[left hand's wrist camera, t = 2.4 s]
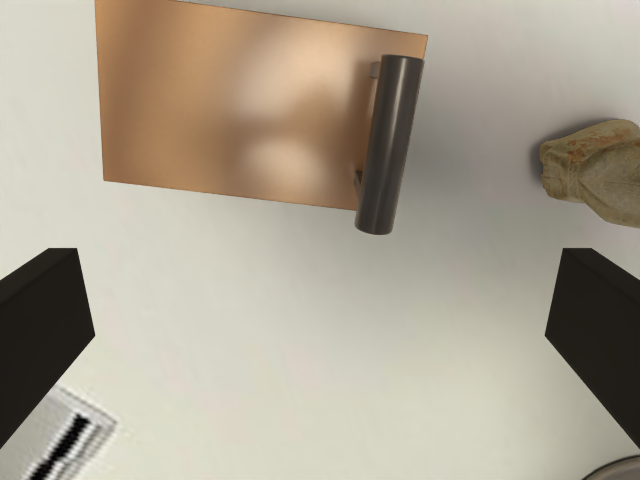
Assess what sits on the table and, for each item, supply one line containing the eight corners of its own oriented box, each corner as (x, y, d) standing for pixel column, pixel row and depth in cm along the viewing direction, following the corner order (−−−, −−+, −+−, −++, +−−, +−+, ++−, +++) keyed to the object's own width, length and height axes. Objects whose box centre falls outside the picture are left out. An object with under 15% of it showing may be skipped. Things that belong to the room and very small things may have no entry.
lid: (423, 36, 23) (481, 18, 14) (390, 209, 26) (423, 274, 18) (104, -7, 22) (-24, -53, 14) (112, 176, 25) (12, 227, 17)
